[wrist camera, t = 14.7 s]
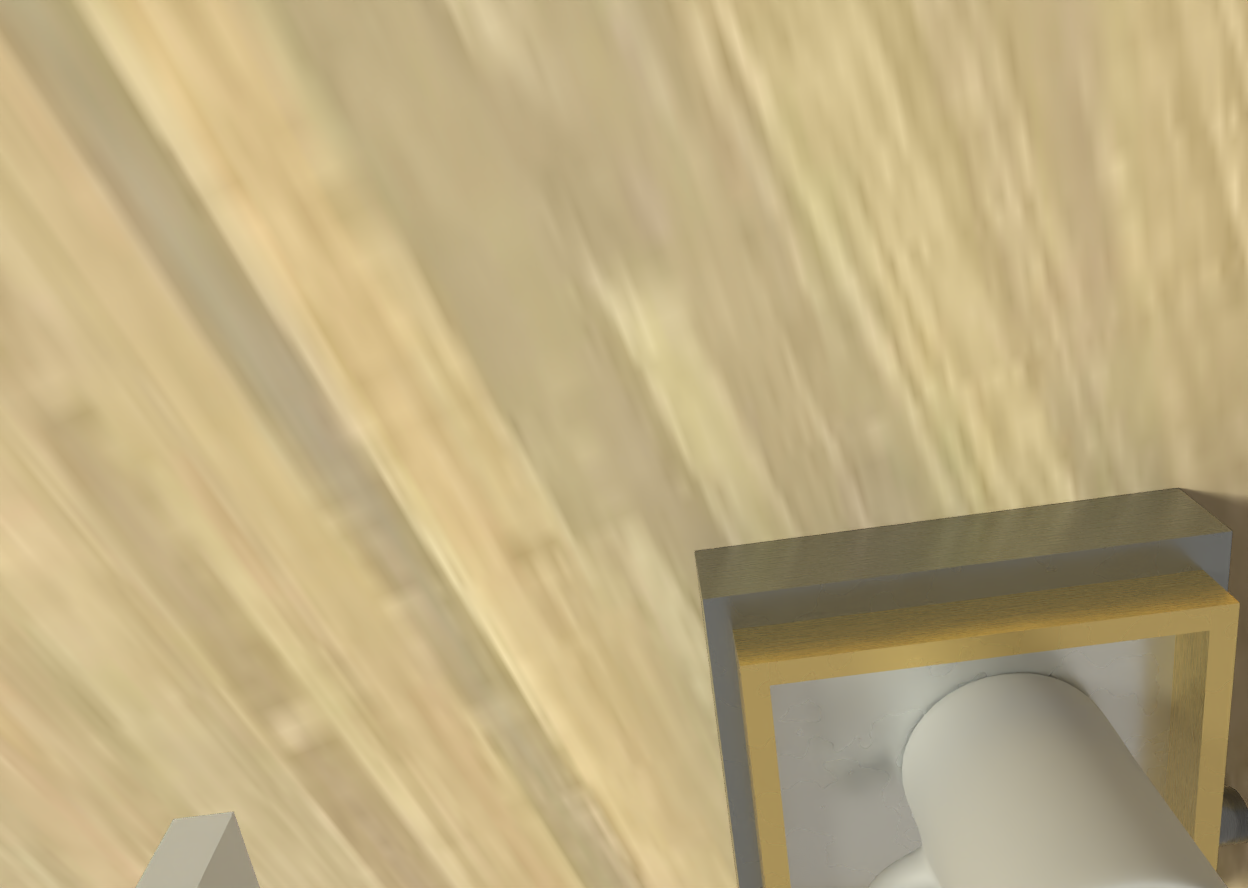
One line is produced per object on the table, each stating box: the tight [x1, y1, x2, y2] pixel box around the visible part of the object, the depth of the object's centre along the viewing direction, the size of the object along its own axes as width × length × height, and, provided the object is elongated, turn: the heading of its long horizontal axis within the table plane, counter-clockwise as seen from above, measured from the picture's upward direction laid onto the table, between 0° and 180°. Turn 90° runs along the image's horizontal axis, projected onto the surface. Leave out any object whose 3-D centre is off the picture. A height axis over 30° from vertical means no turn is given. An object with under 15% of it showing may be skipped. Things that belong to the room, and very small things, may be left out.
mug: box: [869, 673, 1228, 888], centre depth 38 cm, size 12×8×11 cm
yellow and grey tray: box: [695, 488, 1248, 888], centre depth 44 cm, size 23×20×6 cm
